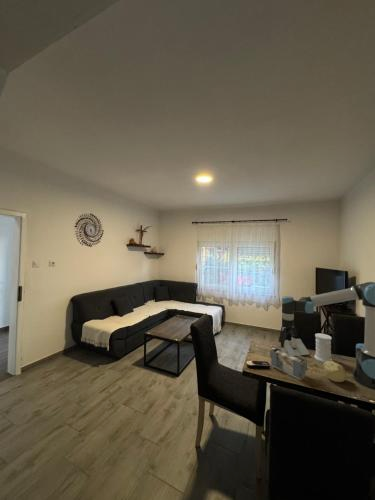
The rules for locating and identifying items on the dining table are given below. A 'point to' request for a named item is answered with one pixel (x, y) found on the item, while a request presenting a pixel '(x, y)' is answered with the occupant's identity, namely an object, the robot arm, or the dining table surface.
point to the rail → (286, 358)
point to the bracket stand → (294, 371)
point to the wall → (298, 350)
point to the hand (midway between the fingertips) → (288, 349)
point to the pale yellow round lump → (334, 371)
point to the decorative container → (323, 347)
